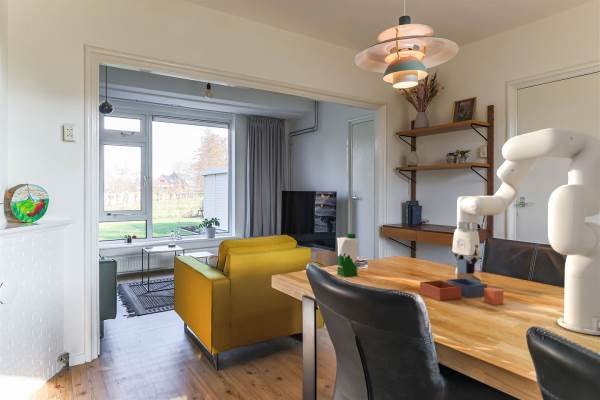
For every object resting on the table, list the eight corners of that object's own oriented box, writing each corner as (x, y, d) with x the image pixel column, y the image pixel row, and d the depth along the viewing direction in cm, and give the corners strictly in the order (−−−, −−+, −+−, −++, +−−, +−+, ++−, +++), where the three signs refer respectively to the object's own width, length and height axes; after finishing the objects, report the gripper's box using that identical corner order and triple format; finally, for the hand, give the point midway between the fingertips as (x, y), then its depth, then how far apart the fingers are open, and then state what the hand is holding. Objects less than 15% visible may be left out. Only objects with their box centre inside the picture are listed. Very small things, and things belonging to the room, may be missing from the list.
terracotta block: (503, 304, 132) (503, 290, 132) (494, 305, 130) (494, 291, 130) (492, 300, 136) (493, 287, 136) (484, 301, 134) (484, 288, 134)
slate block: (474, 273, 145) (474, 260, 145) (465, 273, 144) (466, 261, 144) (465, 270, 149) (466, 258, 149) (457, 271, 148) (457, 259, 148)
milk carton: (359, 275, 176) (360, 234, 176) (343, 277, 172) (344, 235, 172) (349, 272, 184) (350, 232, 184) (334, 273, 180) (334, 233, 180)
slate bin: (487, 295, 143) (487, 284, 143) (466, 297, 139) (467, 286, 139) (464, 288, 153) (465, 278, 153) (445, 290, 150) (445, 279, 150)
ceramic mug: (455, 283, 163) (456, 266, 162) (454, 279, 170) (455, 263, 170) (481, 286, 159) (482, 268, 159) (480, 282, 166) (480, 265, 166)
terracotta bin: (461, 298, 138) (461, 286, 138) (439, 300, 135) (440, 288, 135) (440, 291, 149) (440, 280, 149) (419, 293, 145) (420, 281, 145)
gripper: (444, 225, 153) (443, 268, 153) (476, 229, 137) (475, 277, 137) (458, 224, 155) (457, 267, 156) (491, 228, 140) (490, 275, 140)
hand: (465, 271), depth 147 cm, fingers closed on slate block, 4 cm apart
